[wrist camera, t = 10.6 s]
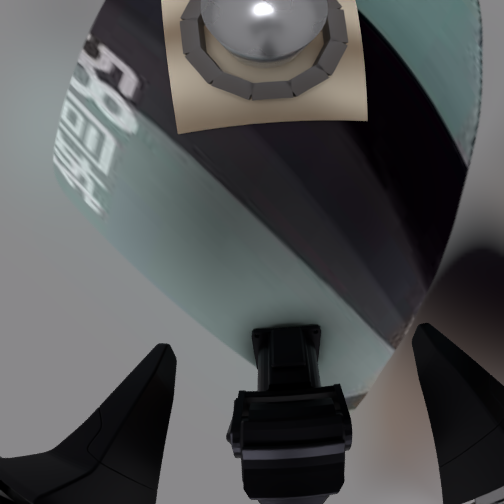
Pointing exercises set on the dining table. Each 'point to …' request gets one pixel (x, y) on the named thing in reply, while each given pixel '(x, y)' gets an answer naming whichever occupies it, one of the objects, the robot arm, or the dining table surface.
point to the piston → (264, 28)
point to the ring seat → (263, 74)
